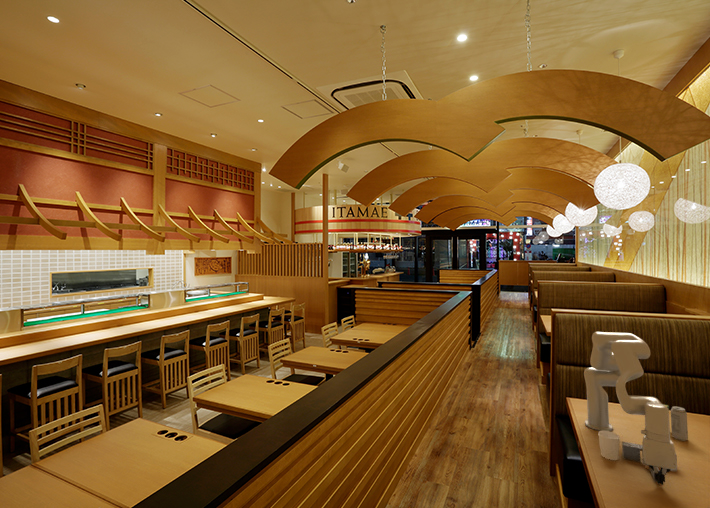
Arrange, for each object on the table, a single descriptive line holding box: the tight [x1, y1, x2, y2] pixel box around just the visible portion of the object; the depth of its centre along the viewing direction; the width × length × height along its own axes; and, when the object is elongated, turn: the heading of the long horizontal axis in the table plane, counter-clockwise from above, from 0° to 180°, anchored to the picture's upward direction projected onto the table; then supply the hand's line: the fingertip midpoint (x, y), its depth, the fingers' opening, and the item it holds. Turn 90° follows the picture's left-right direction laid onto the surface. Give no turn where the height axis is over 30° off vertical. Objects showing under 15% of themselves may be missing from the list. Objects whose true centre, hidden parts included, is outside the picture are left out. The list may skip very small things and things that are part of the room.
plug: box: [644, 465, 660, 483], centre depth 151 cm, size 14×4×4 cm, turn 151°
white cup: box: [598, 431, 620, 461], centre depth 165 cm, size 8×8×10 cm
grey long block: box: [621, 441, 678, 463], centre depth 160 cm, size 4×18×6 cm, turn 61°
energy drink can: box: [670, 405, 689, 442], centre depth 180 cm, size 6×6×15 cm
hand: (659, 482), depth 142 cm, fingers closed
